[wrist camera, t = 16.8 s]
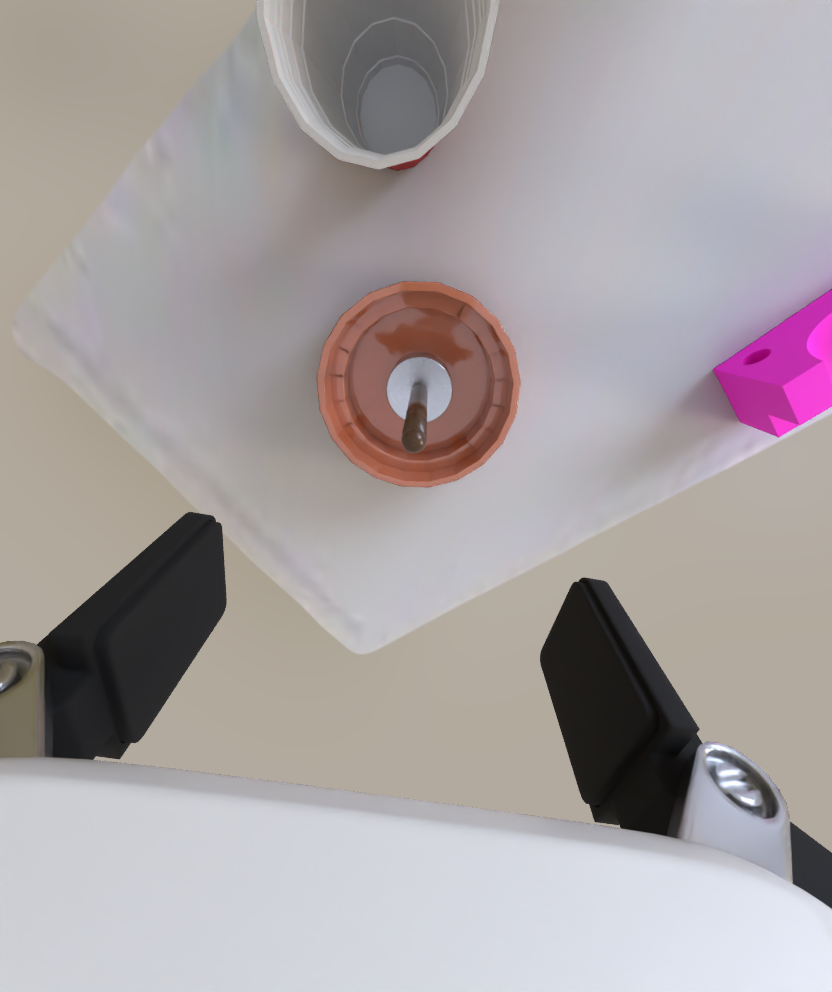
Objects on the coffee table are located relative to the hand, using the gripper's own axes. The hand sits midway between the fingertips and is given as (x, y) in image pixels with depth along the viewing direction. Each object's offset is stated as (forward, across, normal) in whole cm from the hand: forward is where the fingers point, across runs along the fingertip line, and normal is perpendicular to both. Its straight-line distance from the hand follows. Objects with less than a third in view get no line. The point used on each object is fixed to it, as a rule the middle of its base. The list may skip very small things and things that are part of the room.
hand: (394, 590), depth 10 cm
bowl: (+28, 0, 0) cm, 28 cm away
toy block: (+28, -32, -10) cm, 44 cm away
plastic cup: (+28, +5, -18) cm, 34 cm away
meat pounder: (+28, 0, 0) cm, 28 cm away
